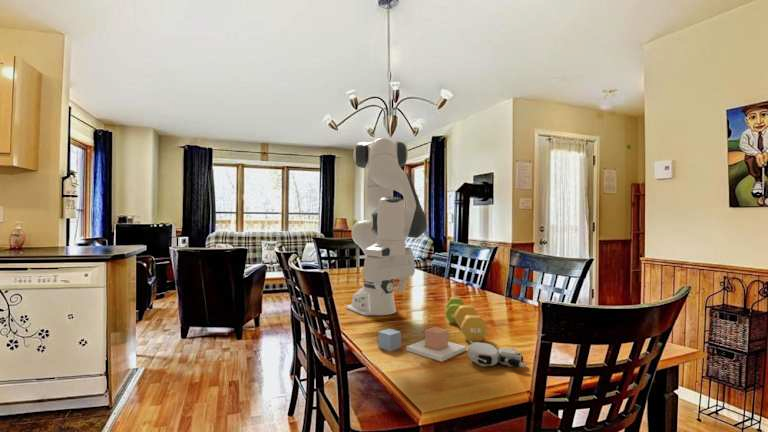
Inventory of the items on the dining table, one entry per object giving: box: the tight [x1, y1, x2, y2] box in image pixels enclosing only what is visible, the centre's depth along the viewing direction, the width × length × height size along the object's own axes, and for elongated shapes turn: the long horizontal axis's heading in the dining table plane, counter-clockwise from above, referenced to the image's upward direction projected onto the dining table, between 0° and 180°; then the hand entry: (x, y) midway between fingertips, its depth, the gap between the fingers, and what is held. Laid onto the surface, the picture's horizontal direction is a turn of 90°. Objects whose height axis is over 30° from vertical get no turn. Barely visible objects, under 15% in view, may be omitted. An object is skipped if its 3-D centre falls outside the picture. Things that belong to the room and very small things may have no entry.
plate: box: [405, 339, 467, 363], centre depth 120 cm, size 13×13×1 cm
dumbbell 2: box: [454, 304, 489, 343], centre depth 137 cm, size 19×9×8 cm, turn 178°
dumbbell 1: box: [445, 296, 466, 325], centre depth 157 cm, size 16×8×7 cm, turn 168°
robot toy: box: [467, 341, 527, 368], centre depth 110 cm, size 12×4×15 cm
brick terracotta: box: [424, 326, 449, 350], centre depth 120 cm, size 5×5×5 cm
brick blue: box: [377, 328, 402, 352], centre depth 122 cm, size 5×5×5 cm
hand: (390, 293), depth 122 cm, fingers open, 8 cm apart
